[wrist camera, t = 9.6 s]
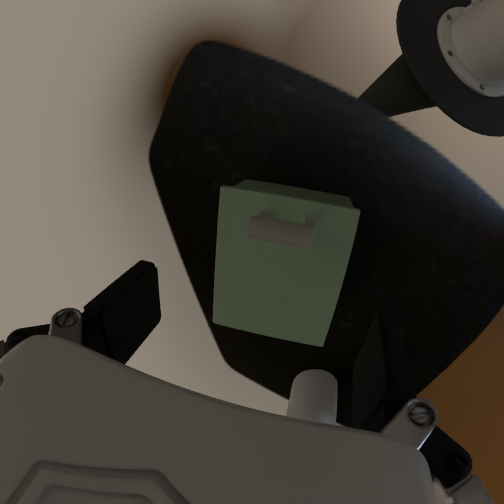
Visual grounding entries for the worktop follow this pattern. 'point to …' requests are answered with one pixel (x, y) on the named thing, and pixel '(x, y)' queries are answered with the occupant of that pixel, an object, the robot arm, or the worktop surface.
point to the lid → (280, 263)
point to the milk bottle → (314, 397)
